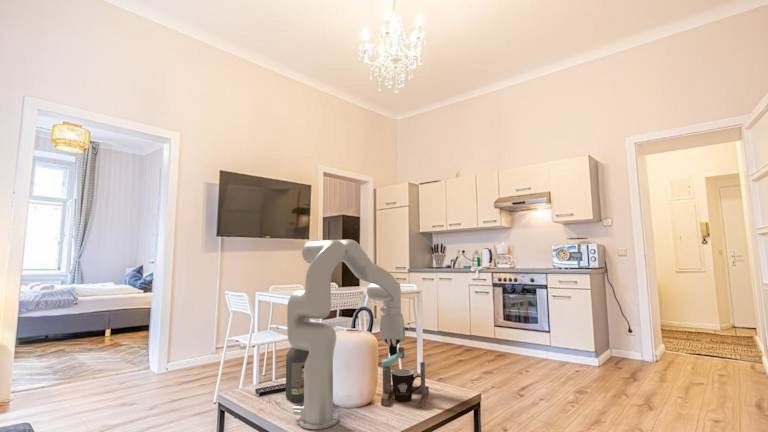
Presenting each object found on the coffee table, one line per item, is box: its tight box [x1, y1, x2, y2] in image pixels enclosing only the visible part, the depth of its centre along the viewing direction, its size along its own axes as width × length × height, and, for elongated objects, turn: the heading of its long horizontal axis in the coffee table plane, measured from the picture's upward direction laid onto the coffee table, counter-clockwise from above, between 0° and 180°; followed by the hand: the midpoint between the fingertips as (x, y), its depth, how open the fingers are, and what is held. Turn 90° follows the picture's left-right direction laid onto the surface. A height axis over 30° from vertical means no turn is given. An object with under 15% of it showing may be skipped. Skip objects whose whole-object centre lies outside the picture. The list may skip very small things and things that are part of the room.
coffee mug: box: [391, 368, 421, 404], centre depth 148 cm, size 12×9×10 cm
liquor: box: [285, 346, 309, 403], centre depth 153 cm, size 9×9×30 cm
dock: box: [380, 361, 430, 409], centre depth 150 cm, size 16×16×14 cm
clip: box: [381, 346, 405, 368], centre depth 157 cm, size 18×4×4 cm, turn 157°
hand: (393, 355), depth 166 cm, fingers closed
